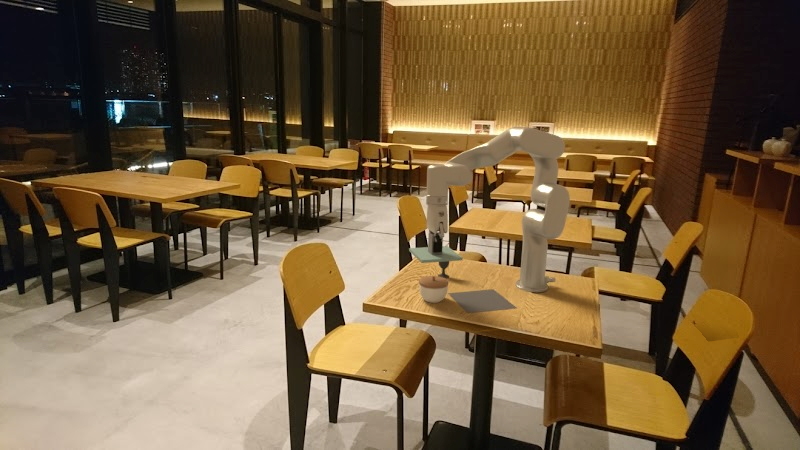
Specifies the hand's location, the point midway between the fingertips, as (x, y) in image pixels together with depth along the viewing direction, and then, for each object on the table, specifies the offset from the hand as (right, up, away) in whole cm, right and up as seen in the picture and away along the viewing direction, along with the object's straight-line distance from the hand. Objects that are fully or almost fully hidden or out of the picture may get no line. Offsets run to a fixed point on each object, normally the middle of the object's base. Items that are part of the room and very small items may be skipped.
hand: (435, 249), depth 170 cm
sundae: (+6, -13, +30) cm, 34 cm away
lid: (0, -2, 0) cm, 2 cm away
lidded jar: (0, -19, +5) cm, 20 cm away
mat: (+17, -19, +4) cm, 26 cm away
